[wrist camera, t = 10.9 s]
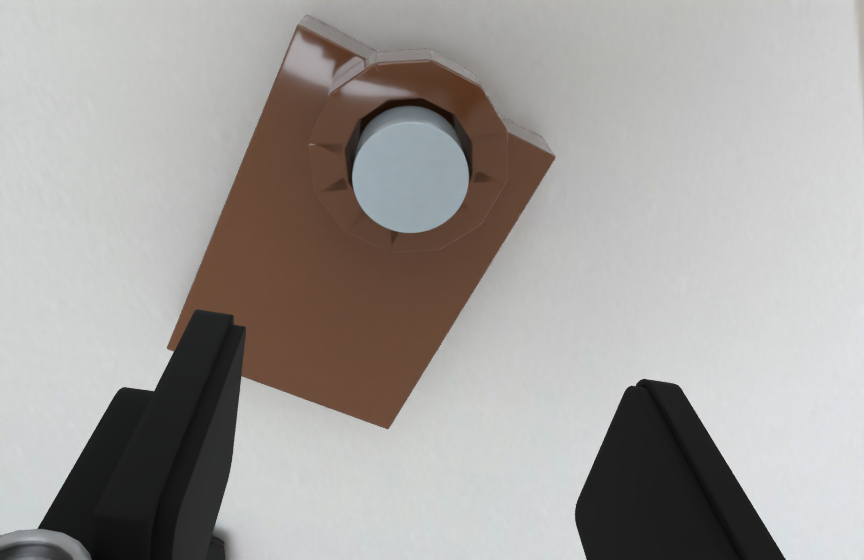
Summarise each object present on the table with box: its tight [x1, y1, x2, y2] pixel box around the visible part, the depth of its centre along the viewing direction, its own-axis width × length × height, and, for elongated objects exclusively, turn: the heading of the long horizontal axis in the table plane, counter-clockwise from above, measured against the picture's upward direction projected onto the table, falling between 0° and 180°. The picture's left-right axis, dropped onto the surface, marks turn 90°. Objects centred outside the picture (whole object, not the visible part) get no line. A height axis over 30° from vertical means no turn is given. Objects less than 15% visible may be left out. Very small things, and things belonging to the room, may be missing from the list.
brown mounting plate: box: [167, 15, 555, 429], centre depth 26 cm, size 15×10×4 cm, turn 153°
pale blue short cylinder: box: [352, 106, 469, 233], centre depth 22 cm, size 4×4×2 cm
